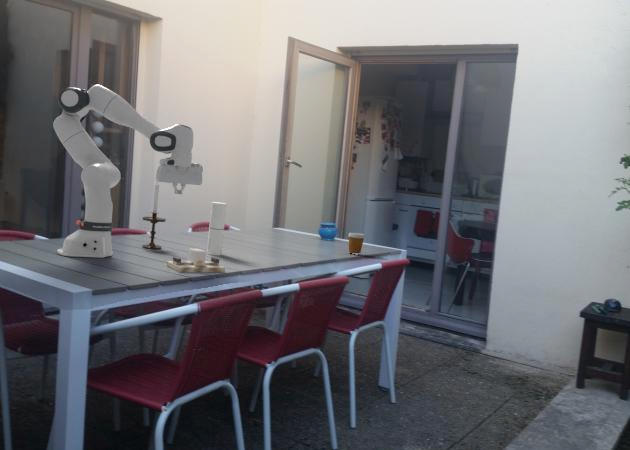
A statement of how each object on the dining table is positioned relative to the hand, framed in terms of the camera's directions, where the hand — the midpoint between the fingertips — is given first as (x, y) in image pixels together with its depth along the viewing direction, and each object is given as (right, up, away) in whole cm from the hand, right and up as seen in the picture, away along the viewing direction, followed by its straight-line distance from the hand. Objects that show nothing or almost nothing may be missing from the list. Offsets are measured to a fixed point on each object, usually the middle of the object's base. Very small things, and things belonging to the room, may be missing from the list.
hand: (178, 194), depth 286 cm
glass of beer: (+82, -30, +88) cm, 124 cm away
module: (+10, -30, -14) cm, 34 cm away
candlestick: (-19, -25, +30) cm, 44 cm away
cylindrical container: (+11, -28, +32) cm, 44 cm away
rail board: (+10, -32, -13) cm, 36 cm away
